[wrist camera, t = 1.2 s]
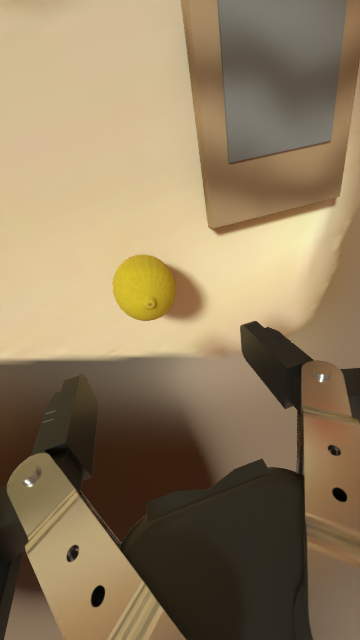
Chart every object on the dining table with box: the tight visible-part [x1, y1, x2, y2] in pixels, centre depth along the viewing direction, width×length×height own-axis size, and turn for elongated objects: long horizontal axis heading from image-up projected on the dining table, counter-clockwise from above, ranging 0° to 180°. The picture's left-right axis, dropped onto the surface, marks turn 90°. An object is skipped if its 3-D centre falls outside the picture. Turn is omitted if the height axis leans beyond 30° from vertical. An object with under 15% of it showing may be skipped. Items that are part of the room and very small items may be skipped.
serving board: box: [181, 0, 360, 228], centre depth 19 cm, size 20×14×2 cm
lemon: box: [113, 255, 176, 321], centre depth 21 cm, size 6×6×8 cm
